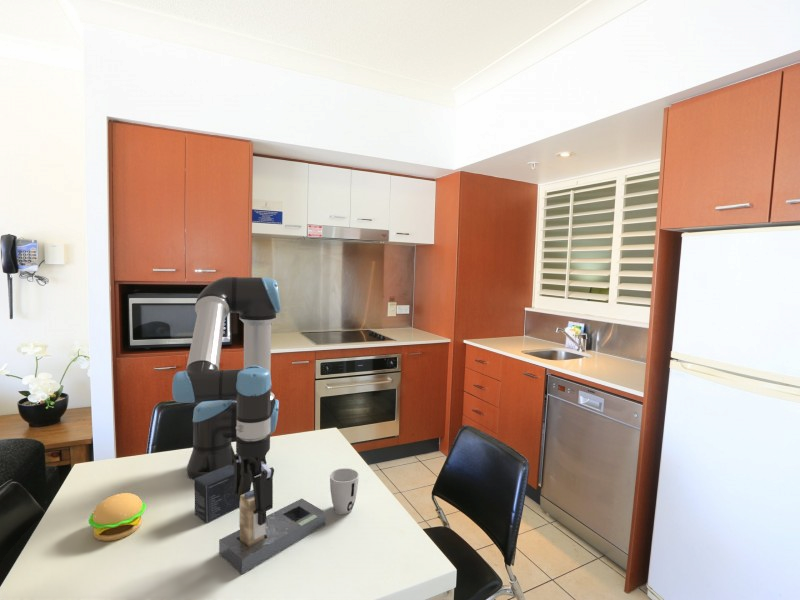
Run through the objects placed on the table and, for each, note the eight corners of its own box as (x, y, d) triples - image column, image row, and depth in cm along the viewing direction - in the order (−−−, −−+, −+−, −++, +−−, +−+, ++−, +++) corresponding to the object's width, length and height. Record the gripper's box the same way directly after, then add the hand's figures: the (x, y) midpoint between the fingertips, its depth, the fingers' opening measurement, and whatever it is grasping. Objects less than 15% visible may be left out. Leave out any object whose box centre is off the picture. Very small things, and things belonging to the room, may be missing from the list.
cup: (352, 519, 112) (353, 483, 111) (324, 514, 113) (325, 479, 113) (361, 503, 120) (362, 470, 119) (335, 499, 121) (335, 466, 121)
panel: (219, 554, 96) (219, 539, 96) (301, 510, 115) (301, 497, 115) (241, 574, 90) (242, 558, 90) (325, 524, 109) (325, 511, 109)
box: (229, 498, 120) (229, 463, 119) (242, 506, 116) (242, 470, 116) (193, 515, 111) (193, 477, 111) (206, 524, 108) (206, 485, 107)
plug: (239, 552, 97) (240, 492, 96) (254, 544, 100) (255, 485, 99) (248, 560, 95) (249, 498, 94) (264, 551, 98) (265, 491, 97)
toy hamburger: (85, 551, 96) (85, 516, 95) (91, 524, 106) (91, 492, 105) (146, 535, 102) (146, 502, 102) (145, 511, 112) (145, 481, 112)
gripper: (218, 429, 99) (217, 522, 100) (261, 452, 87) (259, 556, 89) (246, 421, 104) (245, 509, 106) (290, 441, 93) (288, 539, 94)
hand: (252, 530), depth 97 cm, fingers open, 5 cm apart
